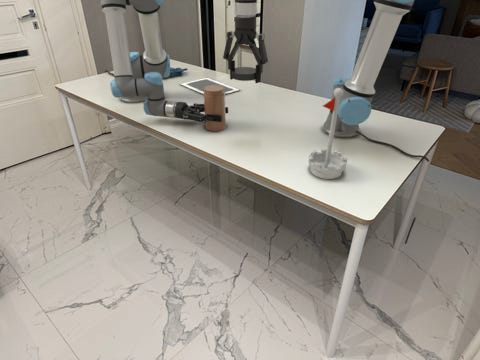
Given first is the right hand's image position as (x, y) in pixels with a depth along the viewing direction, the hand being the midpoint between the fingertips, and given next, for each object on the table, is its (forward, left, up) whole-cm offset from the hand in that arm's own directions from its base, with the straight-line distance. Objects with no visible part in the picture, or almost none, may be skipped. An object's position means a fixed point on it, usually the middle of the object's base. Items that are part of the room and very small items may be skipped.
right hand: (244, 80), depth 129 cm
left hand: (+14, +3, -19) cm, 24 cm away
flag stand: (-35, -15, -25) cm, 46 cm away
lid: (0, 0, +3) cm, 3 cm away
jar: (+17, +6, -25) cm, 31 cm away
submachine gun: (+109, +9, -25) cm, 112 cm away
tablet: (+71, -11, -25) cm, 76 cm away
